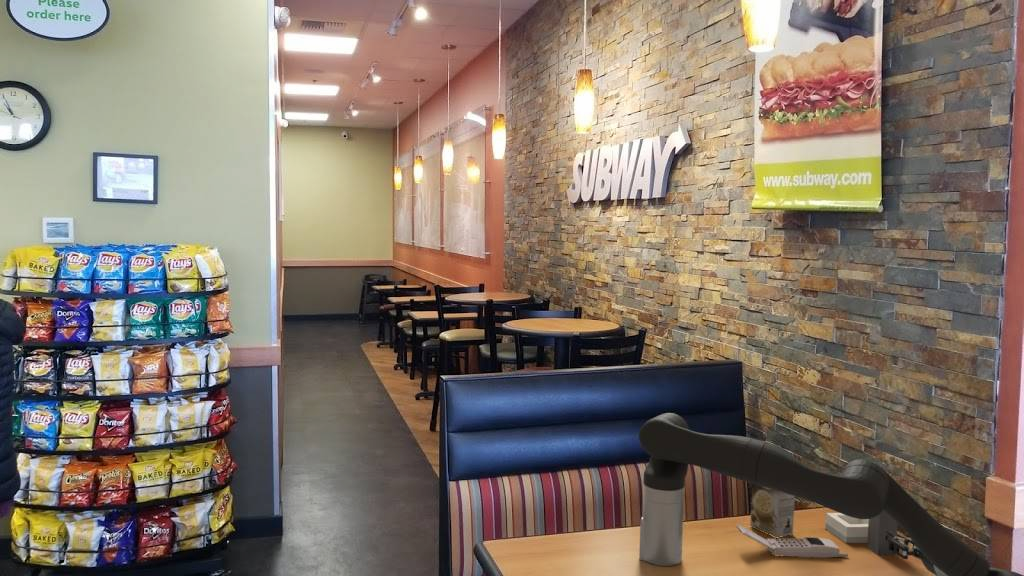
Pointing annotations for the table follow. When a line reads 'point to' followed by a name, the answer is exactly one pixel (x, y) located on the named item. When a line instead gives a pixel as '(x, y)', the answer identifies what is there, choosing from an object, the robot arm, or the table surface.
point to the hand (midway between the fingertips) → (904, 534)
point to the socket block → (847, 527)
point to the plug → (880, 533)
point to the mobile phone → (797, 546)
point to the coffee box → (772, 511)
